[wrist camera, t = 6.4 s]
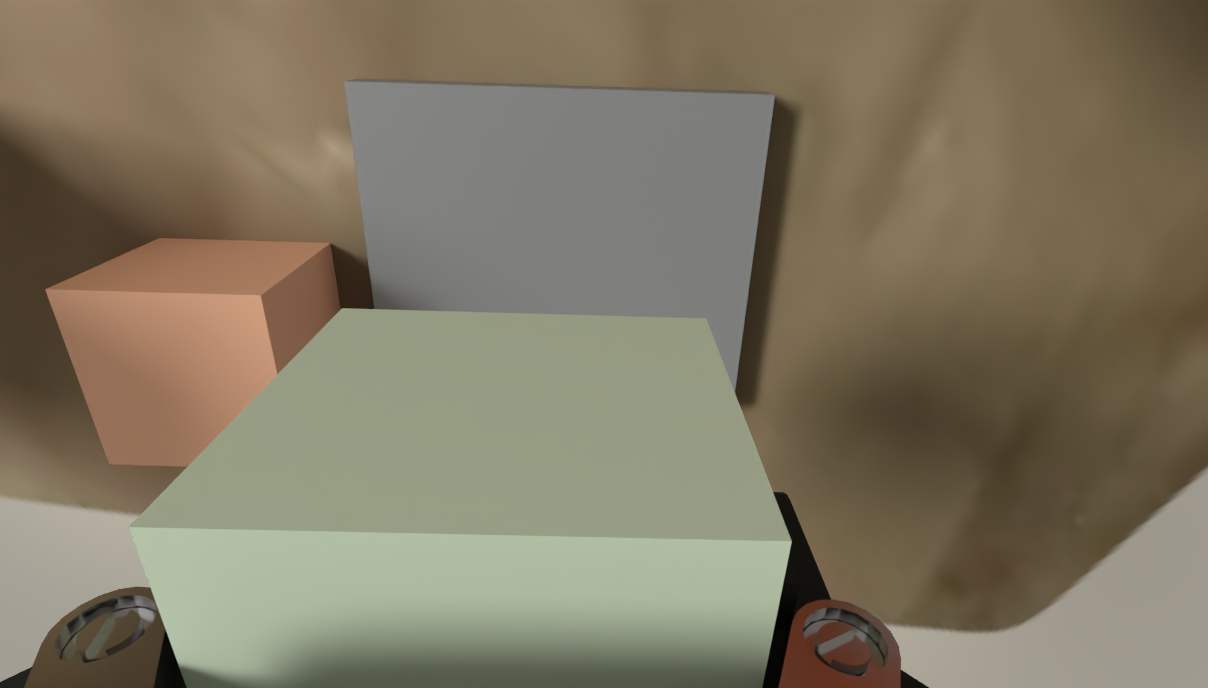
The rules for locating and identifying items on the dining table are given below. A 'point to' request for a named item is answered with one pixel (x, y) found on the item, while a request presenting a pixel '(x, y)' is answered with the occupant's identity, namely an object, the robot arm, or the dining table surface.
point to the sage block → (476, 513)
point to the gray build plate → (561, 199)
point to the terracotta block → (188, 337)
